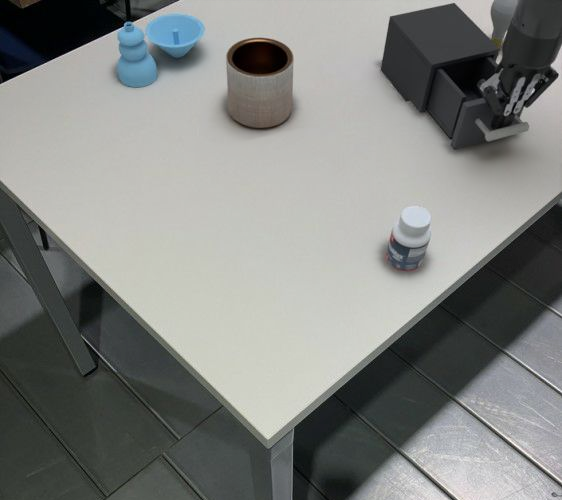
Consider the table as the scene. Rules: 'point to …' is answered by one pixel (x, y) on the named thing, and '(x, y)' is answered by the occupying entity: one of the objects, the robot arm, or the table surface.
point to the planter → (259, 82)
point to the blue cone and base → (164, 33)
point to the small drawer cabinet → (430, 48)
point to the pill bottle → (409, 239)
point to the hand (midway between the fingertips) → (498, 131)
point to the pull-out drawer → (467, 103)
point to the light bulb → (501, 18)
